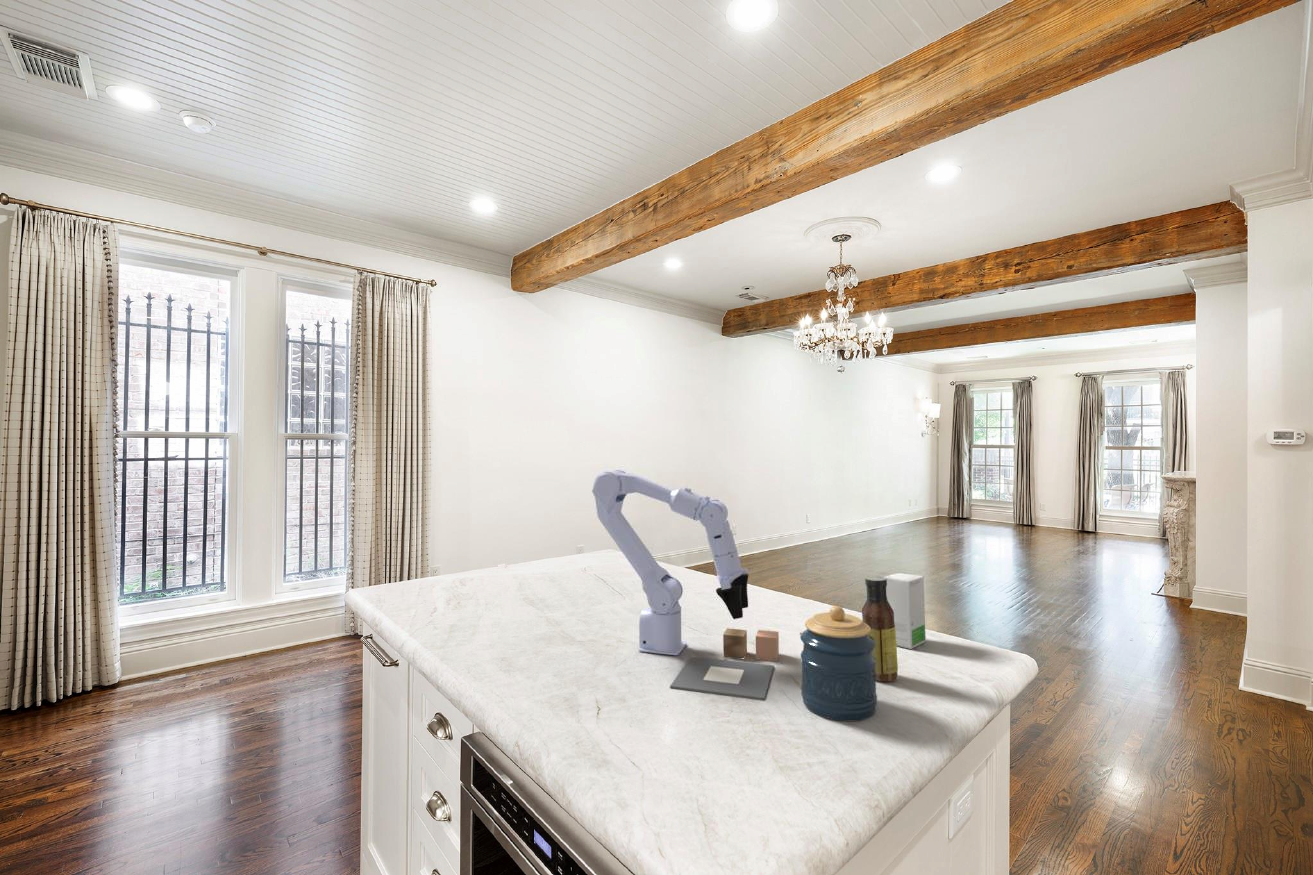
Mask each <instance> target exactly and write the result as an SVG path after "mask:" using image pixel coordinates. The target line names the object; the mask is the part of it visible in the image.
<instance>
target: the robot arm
mask: <svg viewBox="0 0 1313 875" xmlns="http://www.w3.org/2000/svg"><path fill="white" fill-rule="evenodd" d="M591 492H592V494H593V496H594V501H595V507H596V508H595V509H596V513H597V517H598V519H599V521H600V523H601V525H602V526H603V527H604V529H605V530H606V531H607V533H608V534H609V535H610V537H611V538H612V540H613V541H614V542H615V544H616V546H618V548H619V550H620V551H621V552H622V554H623V555H624V556H625V559H627V561H628V562H629V564H630V565H631V567H632V568H633V569H634V571H635V573H636V574H637V575H638V577H639V578H640V580H641V586H642V590H643V592H644V593H645V595H646V599H647V603H648V606H649V608H648V607H647V608H646V607H644V608H643V609H642V610H641V612H640V616H639V623H638V624H639V626H638V628H639V629H638V630H639V631H638V632H639V636H638V637H639V648H638V652H642V653H643V652H644V653H652V654H662V655H671V656H679V655H680V653H681V652H682V651H683V649H684V648H685V647H686V646H687V641H683V640H682V607H681V605H680V602H679V600H680V599H681V598H682V596H683V592H684V590H683V589H684V588H683V585H682V583H681V582H680V580H679V579H678V578H676V577H674V576H672V574H670V573H669V572H668V570H667V569H665V568H664V567H662V566H661V565H659V563H658V562H657V560H656V559H655V558H654V556H653V555H652V553H651V552H650V551H649V549H648V548H647V547H646V545H645V544H644V542H643V541H642V540H641V538H640V537H639V536H638V534H637V532H636V531H635V530H634V528H633V527H632V526H631V524H630V523H629V521H628V520H627V519H626V517H625V515H623V512H622V508H623V505H624V500H625V498H626V497H627V495H628V494H634V493H636V494H640V495H643V496H646V497H649V498H652V499H653V500H654V499H655V500H657V501H661V502H663V503H665V504H668V506H669V508H670V510H671V511H672V512H674V513H676V514H679V515H681V516H683V517H685V518H688V519H691V520H693V521H695V522H696V521H699V522H700V524H701V526H703V527H704V528H705V532H706V535H707V536H706V538H707V541H708V546H709V548H710V549H709V550H710V552H711V556H712V559H713V563H714V567H715V570H716V577H717V580H718V581H719V585H720V587H717V588H716V589H715V592H716V595H717V596H718V597H719V598H721V601H723V602H724V605H725V606H726V608H727V610H728V612H729V614H730V616H731V618H732V619H733V620H737V619H742V618H744V611H743V609H747V608H749V597H748V580H749V573H748V572H749V569H748V567H746V568H742V564H741V560H740V557H739V553H738V550H737V546H736V542H735V539H734V535H733V531H732V530H731V525H730V522H729V520H728V519H727V518H728V514H729V513H728V508H727V506H726V505H725V503H723V502H722V501H720V500H719V499H711V497H710V496H709V495H705V496H703V495H700V494H698V493H694V492H692V488H689V487H688V486H687V487H684V488H683V487H679V488H677V489H675V490H672V489H670V488H668V487H665V486H664V485H661V484H658V483H657V482H654V481H652V480H649V479H647V478H645V477H643V476H640V475H638V474H635V473H631V472H626V471H625V470H620V469H616V470H613V471H602V472H601V473H599V474H598V475H597V476H596V477H595V478H594V483H593V486H592V490H591Z"/></svg>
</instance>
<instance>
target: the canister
mask: <svg viewBox="0 0 1313 875" xmlns="http://www.w3.org/2000/svg"><path fill="white" fill-rule="evenodd" d="M804 626H805V628H806V629H805V630H804V631H801V633H800V637H799V638H800V640H801V642H802V643H803V649H802V650H801V653H800V658H801V686H800V689H801V691H800V693H801V697H802V698H801V699H802V702H803V705H804V706H805V707H806V708H807V709H808V710H810V712H812V713H814V714H816V715H818V716H821V717H824V718H827V719H830V720H836V721H845V722H856V721H862V720H866V719H868V718H870V717H872V716H873V715H875V713H876V710H877V709H876V708H877V706H878V695H877V683H876V682H877V681H876V659H875V658H874V656H873V649H874V648H875V647H876V641H875V640H874V639H873V638H872V637H871V636H870V635H869V633H870V632H871V628H870V626H869V625H867V624H866V623H864V622H863V619H861V618H860V617H858V616H855V615H852V614H848V613H845V610H844V609H843V607H841V606H840V605H839V606H838V605H834V606H832V607H831V608H830V610H829V612H821V613H817V614H815V615H813V616H812V617H811V618H809V619H807V620H806V621H805V623H804Z"/></svg>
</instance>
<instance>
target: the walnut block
mask: <svg viewBox="0 0 1313 875" xmlns="http://www.w3.org/2000/svg"><path fill="white" fill-rule="evenodd" d="M747 632H748V631H747V630H746V629H739V628H729V627H728V628H726V629H725V631H724V633H723V636H722V637H723V639H722V640H723V641H722V642H723V643H722V644H723V653H722V654H723V658H727V659H728V658H729V659H737V658H744V657H746V655H747V653H748V633H747ZM744 659H745V658H744Z"/></svg>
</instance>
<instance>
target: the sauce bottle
mask: <svg viewBox="0 0 1313 875" xmlns="http://www.w3.org/2000/svg"><path fill="white" fill-rule="evenodd" d="M884 577H885V576H884ZM884 577H883V576H880V575H879V576H878V575H870V576H866V577H865V578H864V579H865V580H864V582H865V586H866V601H865V603H864V605H863V606H862V608H861V615H862V616H861V617H862V619H861V620H862V622H864V623H866V624H867V625H869V626H870V628H871V632H870V633H869V635H870V636H871V637H872V638H873V639H874V640H875V641H876V647H875V648H874V649H873V656H874V658H875V659H876V682H881V683H893V682H895V681H896V680H897V679H898V671H899V667H898V666H899V663H898V650H897V649H898V648H897V647H898V646H896V630H895V623H894V611H893V609H892V608H891V606H890V604H889V602H888V601H887V596H886V595H887V594H886V586H887V579H886V578H884Z"/></svg>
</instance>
